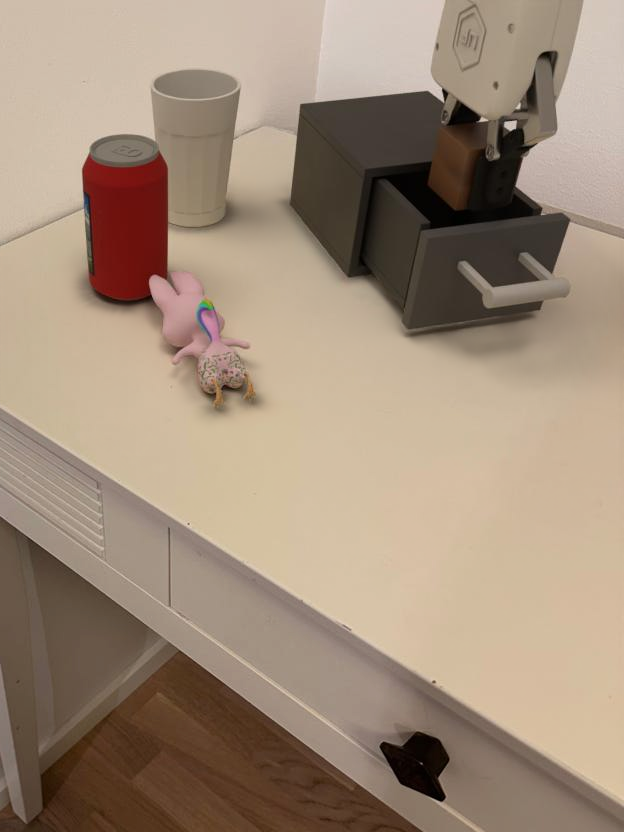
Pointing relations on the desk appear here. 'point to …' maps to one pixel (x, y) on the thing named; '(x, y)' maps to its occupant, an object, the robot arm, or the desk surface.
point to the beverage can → (125, 215)
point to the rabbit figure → (199, 333)
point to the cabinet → (357, 162)
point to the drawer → (460, 253)
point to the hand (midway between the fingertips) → (469, 189)
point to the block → (458, 161)
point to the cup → (195, 140)
